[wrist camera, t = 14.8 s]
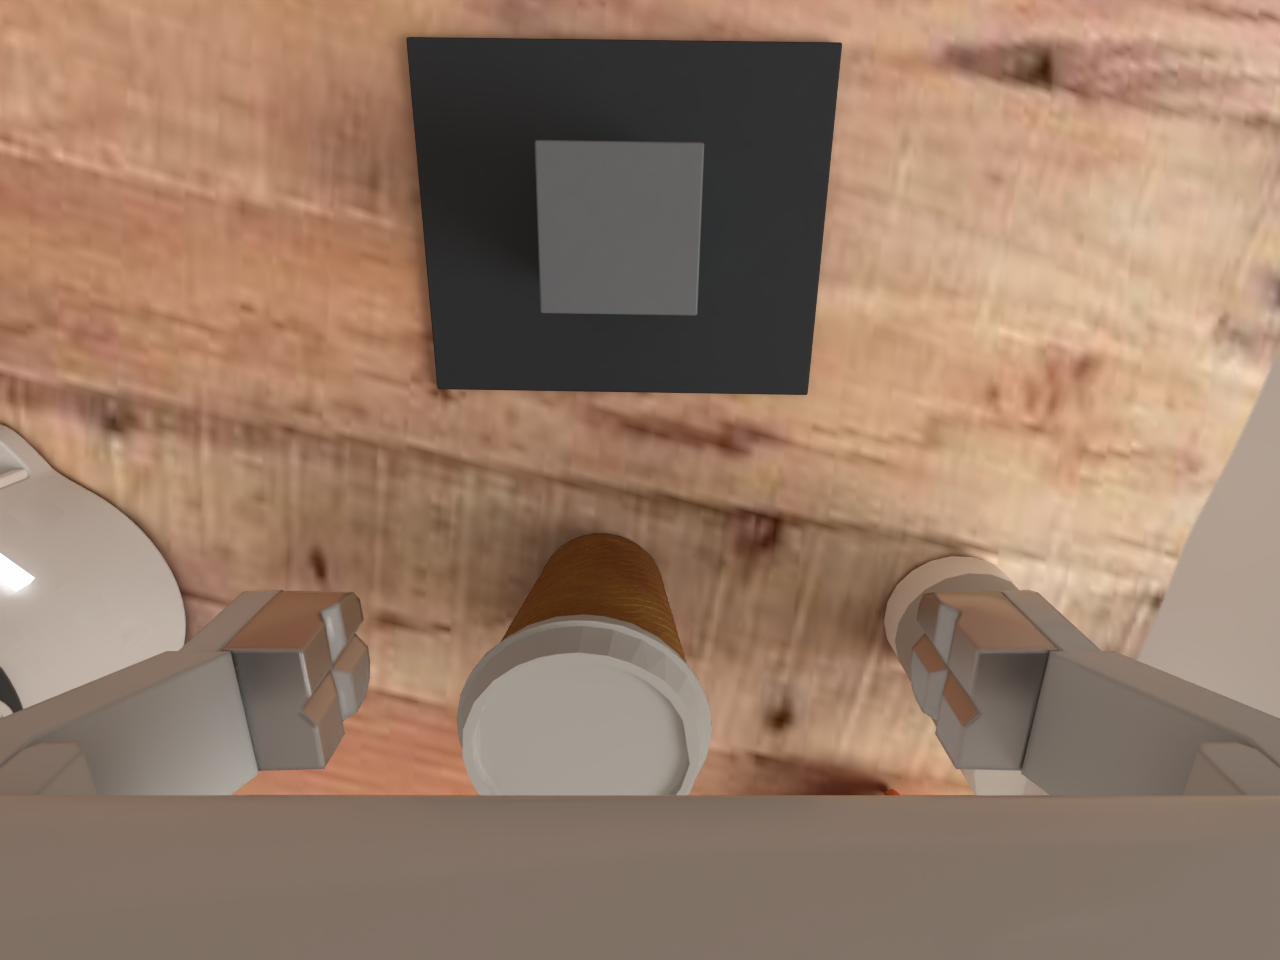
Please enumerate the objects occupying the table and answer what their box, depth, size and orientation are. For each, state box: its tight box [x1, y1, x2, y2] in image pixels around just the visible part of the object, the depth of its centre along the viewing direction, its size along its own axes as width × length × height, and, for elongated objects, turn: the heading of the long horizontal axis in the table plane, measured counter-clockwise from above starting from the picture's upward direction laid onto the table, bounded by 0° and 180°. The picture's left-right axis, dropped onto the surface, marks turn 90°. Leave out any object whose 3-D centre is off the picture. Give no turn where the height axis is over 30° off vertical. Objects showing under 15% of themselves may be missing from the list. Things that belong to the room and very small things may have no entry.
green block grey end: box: [535, 140, 704, 316], centre depth 26 cm, size 5×5×7 cm
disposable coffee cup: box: [457, 534, 711, 795], centre depth 31 cm, size 10×10×12 cm
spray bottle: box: [884, 556, 1049, 795], centre depth 28 cm, size 7×7×18 cm
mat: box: [407, 37, 842, 395], centre depth 30 cm, size 17×14×1 cm
